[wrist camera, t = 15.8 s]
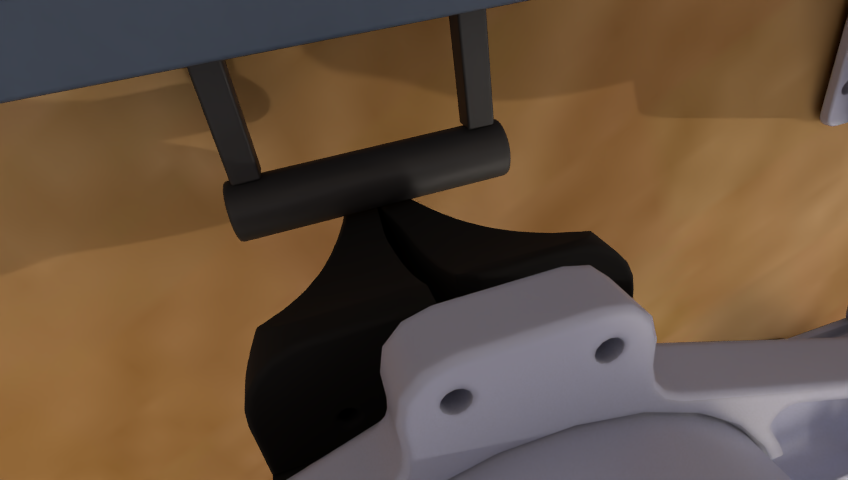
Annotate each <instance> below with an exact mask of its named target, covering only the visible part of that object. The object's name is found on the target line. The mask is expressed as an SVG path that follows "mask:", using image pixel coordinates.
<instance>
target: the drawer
mask: <svg viewBox="0 0 848 480" xmlns="http://www.w3.org/2000/svg"><path fill="white" fill-rule="evenodd" d="M523 1H529V0H0V103H5V102H10V101H15V100H21V99H26V98H31V97H36V96H41V95H46V94H51V93H56V92H62V91H67V90H72V89H77V88H82V87H87V86H92V85H97V84H103V83H108V82H113V81H118V80H123V79H128V78H133V77H139V76H144V75H149V74H154V73H159V72H164V71H169V70H174V69H180V68H185V67H187V69H188V72H189V75H190V77H191V80H192V83H193V85H194V88H195V91H196V93H197V96H198V99H199V101H200V104H201V107H202V109H203V112H204V115H205V117H206V120H207V123H208V125H209V128H210V131H211V133H212V136H213V139H214V141H215V144H216V147H217V149H218V152H219V155H220V157H221V160H222V163H223V165H224V168H225V171H226V173H227V176H228V179H229V181H226V182H225V183H224V184H223V196H224V202H225V206H226V210H227V213H228V216H229V219H230V222H231V225H232V227H233V230H234V232H235V234H236V235H237V237H238V238H239V239H240V240H241V241H244V242H245V241H249V240H253V239H257V238H261V237H265V236H268V235H272V234H276V233H280V232H284V231H288V230H292V229H296V228H300V227H303V226H307V225H311V224H315V223H319V222H323V221H327V220H331V219H335V218H339V217H342V216H346V215H350V214H354V213H358V212H362V211H366V210H370V209H374V208H377V207H381V206H385V205H389V204H393V203H397V202H401V201H405V200H409V199H413V198H416V197H420V196H424V195H428V194H432V193H436V192H440V191H444V190H448V189H452V188H455V187H459V186H463V185H467V184H471V183H475V182H479V181H483V180H487V179H490V178H494V177H498V176H502V175H505V174H506V173H507V172H508V170H509V168H510V148H509V143H508V139H507V136H506V133H505V131H504V129H503V127H502V125H501V124H500V123H499V121H497V120H496V119H493V105H492V90H491V76H490V61H489V47H488V32H487V18H486V9H488V8H493V7H498V6H503V5H508V4H513V3H518V2H523ZM446 16H449V21H450V30H451V40H452V50H453V59H454V69H455V78H456V88H457V97H458V107H459V116H460V122H461V124H463V126H459V127H454V128H450V129H446V130H442V131H437V132H433V133H429V134H425V135H420V136H416V137H412V138H408V139H403V140H399V141H395V142H390V143H386V144H382V145H378V146H373V147H369V148H365V149H361V150H356V151H352V152H348V153H344V154H339V155H335V156H331V157H327V158H322V159H318V160H314V161H310V162H305V163H301V164H297V165H293V166H288V167H284V168H280V169H276V170H271V171H267V172H263V173H261V167H260V164H259V161H258V158H257V155H256V152H255V149H254V146H253V143H252V140H251V137H250V134H249V131H248V128H247V125H246V122H245V119H244V116H243V113H242V110H241V107H240V104H239V101H238V98H237V95H236V92H235V89H234V86H233V83H232V80H231V77H230V74H229V71H228V68H227V65H226V62H225V60H226V59H231V58H236V57H241V56H246V55H251V54H257V53H262V52H267V51H272V50H277V49H282V48H287V47H293V46H298V45H303V44H308V43H313V42H318V41H323V40H328V39H334V38H339V37H344V36H349V35H354V34H359V33H364V32H369V31H375V30H380V29H385V28H390V27H395V26H400V25H405V24H411V23H416V22H421V21H426V20H431V19H436V18H441V17H446Z"/></svg>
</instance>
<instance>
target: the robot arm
mask: <svg viewBox="0 0 848 480" xmlns="http://www.w3.org/2000/svg"><path fill="white" fill-rule="evenodd" d="M820 120H821V122H822V123H823V124H826V125H829V126H836V125H840V124H844V123H847V122H848V16H847V19H846V23H845V26H844V30H843V34H842V37H841V41H840V44H839V48H838V52H837V55H836V59H835V62H834V66H833V70H832V73H831V77H830V81H829V84H828V88H827V91H826V95H825V99H824V102H823V106H822V109H821V113H820ZM656 341H657V337H656V333H655V328H654V323H653V318H652V316H651V315H650V314H649V313H648V312H647V311H646V310H645V309H644V308H642V307H641V306H640V305H639V304H638V303H637V302H636V301H635V300H634V299H633V275H632V272H631V270H630V267H629V265H628V263H627V262H626V261H625V260H624V259H623V258H622V257H621V256H620V255H619V253H617V252H616V251H615V250H614V249H613V248H611V247H610V246H609V245H608V244H606V243H605V242H604V241H603V240H601V239H600V238H599V237H598V236H596V235H595V234H594V233H592V232H591V231H583V232H564V233H533V232H518V231H509V230H502V229H495V228H489V227H484V226H480V225H476V224H472V223H468V222H464V221H461V220H458V219H455V218H452V217H450V216H447V215H444V214H442V213H439V212H437V211H434V210H432V209H430V208H428V207H426V206H424V205H421V204H419V203H417V202H415V201H413V200H412V199H409V200H405V201H401V202H397V203H393V204H389V205H385V206H381V207H377V208H374V209H370V210H366V211H362V212H358V213H354V214H350V215H346V216H344V219H343V224H342V227H341V230H340V234H339V237H338V239H337V242H336V244H335V246H334V249H333V251H332V253H331V255H330V257H329V259H328V261H327V263H326V264H325V266H324V268H323V269H322V271H321V272H320V274H319V275H318V276H317V277H316V279H315V280H314V281H313V282H312V283H311V285H310V286H309V287H308V288H307V289H306V290H305V291H304V292H303V293H302V294H301V295H300V296H299V297H298V298H297V299H296V300H295V301H293V302H292V303H291V304H290V305H289V306H288V307H286V308H285V309H284V310H282V311H281V312H280V313H278V314H277V315H275V316H274V317H272V318H271V319H269V320H268V321H266V322H265V323H264V324H262V325H260V326H259V327H257V329H256V332H255V335H254V339H253V343H252V347H251V351H250V356H249V360H248V365H247V371H246V380H245V415H246V418H247V422H248V426H249V428H250V430H251V432H252V434H253V436H254V438H255V440H256V442H257V444H258V446H259V448H260V450H261V452H262V454H263V456H264V458H265V460H266V462H267V464H268V466H269V468H270V470H271V472H272V474H273V480H848V307H847V311H846V318H844V319H841V320H839V321H836V322H833V323H830V324H827V325H824V326H822V327H819V328H816V329H813V330H810V331H808V332H805V333H802V334H799V335H796V336H793V337H791V338H788V339H775V340H743V341H710V342H678V343H656Z"/></svg>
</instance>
